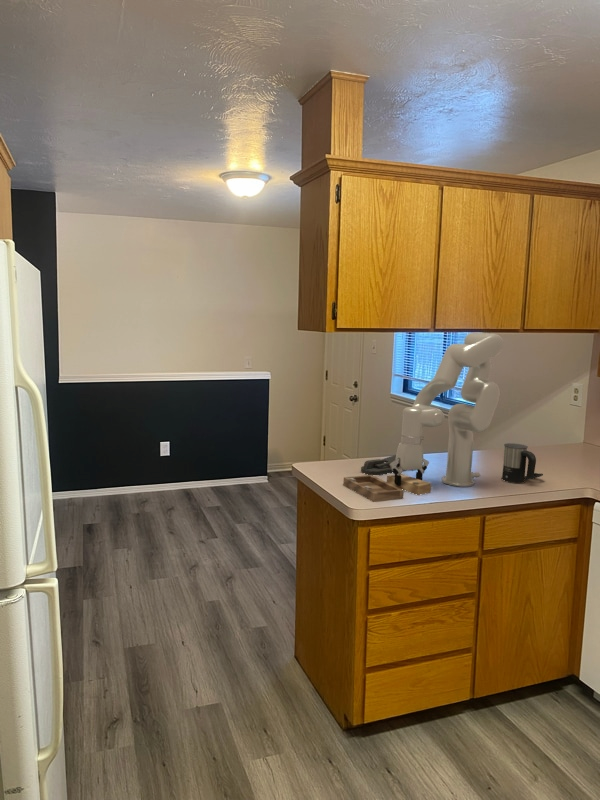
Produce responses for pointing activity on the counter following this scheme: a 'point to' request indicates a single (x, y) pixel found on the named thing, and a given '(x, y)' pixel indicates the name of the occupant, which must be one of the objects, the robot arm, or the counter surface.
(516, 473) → the milk frother
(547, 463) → the counter surface
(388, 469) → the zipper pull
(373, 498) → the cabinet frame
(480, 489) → the counter surface
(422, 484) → the tan rectangular block
